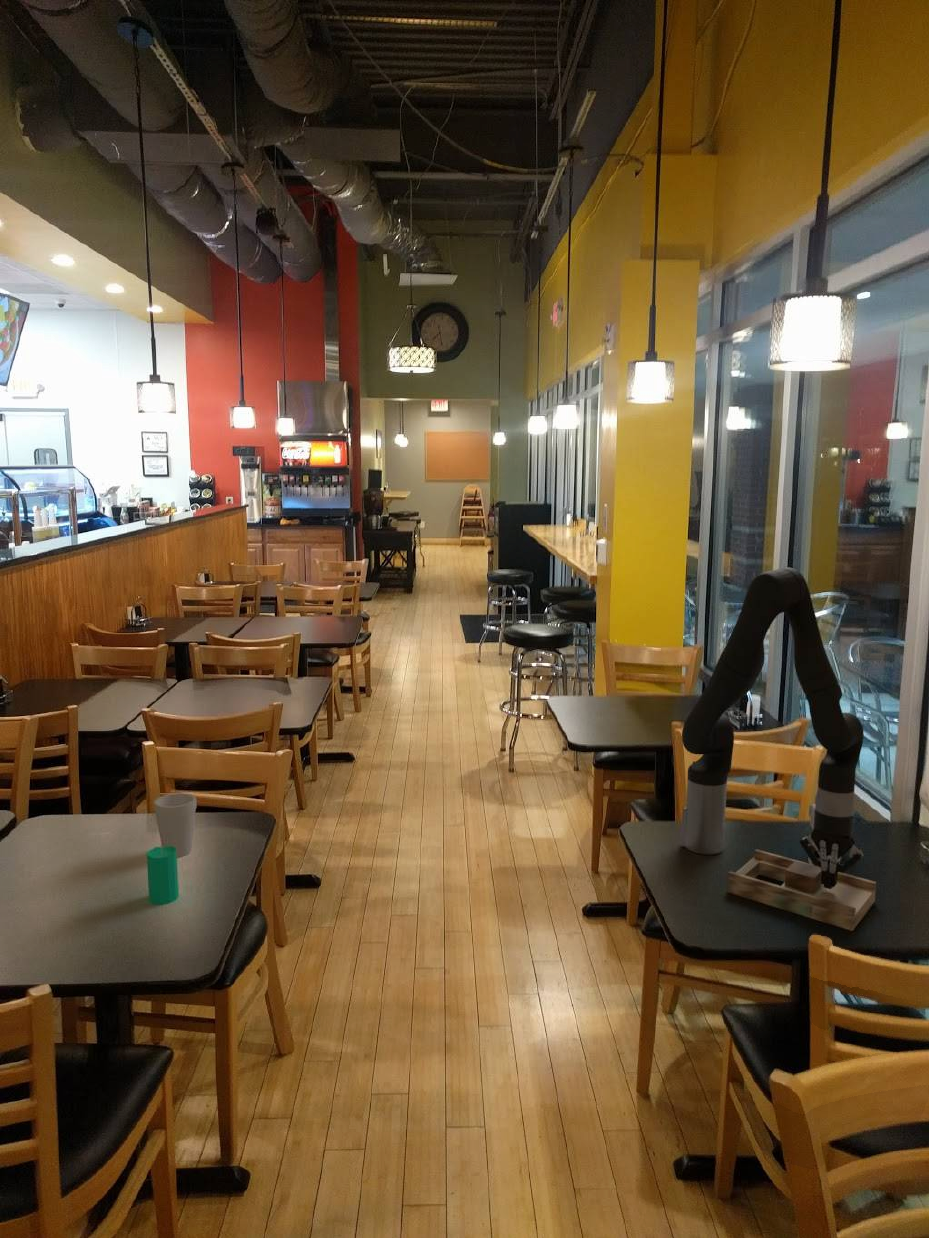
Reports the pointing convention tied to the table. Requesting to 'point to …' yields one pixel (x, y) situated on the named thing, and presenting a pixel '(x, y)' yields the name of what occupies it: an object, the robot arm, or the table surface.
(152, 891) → the candle
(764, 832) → the table surface
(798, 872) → the walnut block
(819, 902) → the tray
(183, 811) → the foam cup
